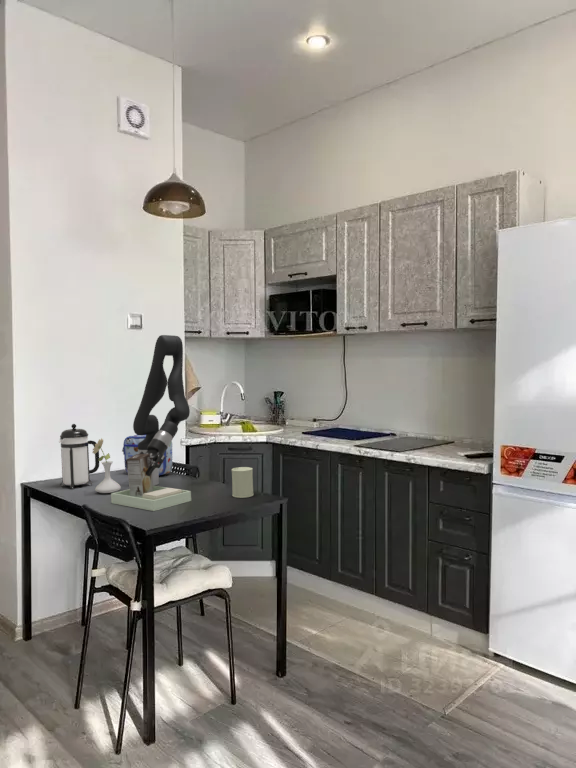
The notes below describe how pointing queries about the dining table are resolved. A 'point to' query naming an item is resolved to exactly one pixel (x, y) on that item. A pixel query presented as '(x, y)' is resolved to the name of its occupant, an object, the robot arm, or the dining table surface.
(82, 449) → the coffee press
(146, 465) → the coffee box
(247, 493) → the can
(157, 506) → the tray
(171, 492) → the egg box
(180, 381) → the robot arm
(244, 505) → the dining table surface
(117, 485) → the flower in vase
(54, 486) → the dining table surface
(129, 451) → the lunch box
